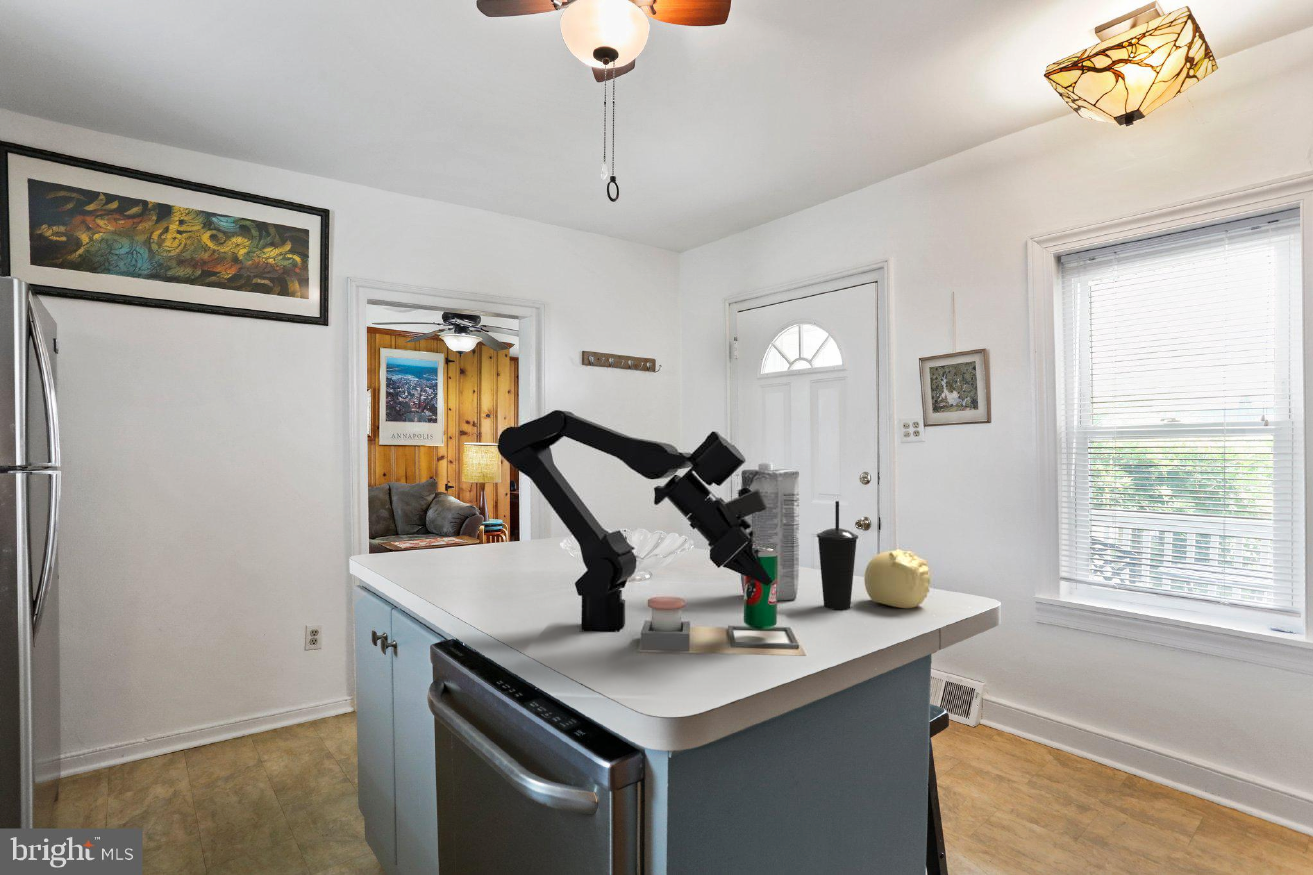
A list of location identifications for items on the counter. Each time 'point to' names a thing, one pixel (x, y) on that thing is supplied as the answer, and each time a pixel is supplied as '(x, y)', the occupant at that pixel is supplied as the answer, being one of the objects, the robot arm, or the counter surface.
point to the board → (742, 641)
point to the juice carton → (777, 522)
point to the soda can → (762, 592)
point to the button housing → (665, 638)
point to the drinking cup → (837, 564)
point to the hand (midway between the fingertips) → (769, 580)
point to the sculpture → (897, 579)
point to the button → (666, 613)
